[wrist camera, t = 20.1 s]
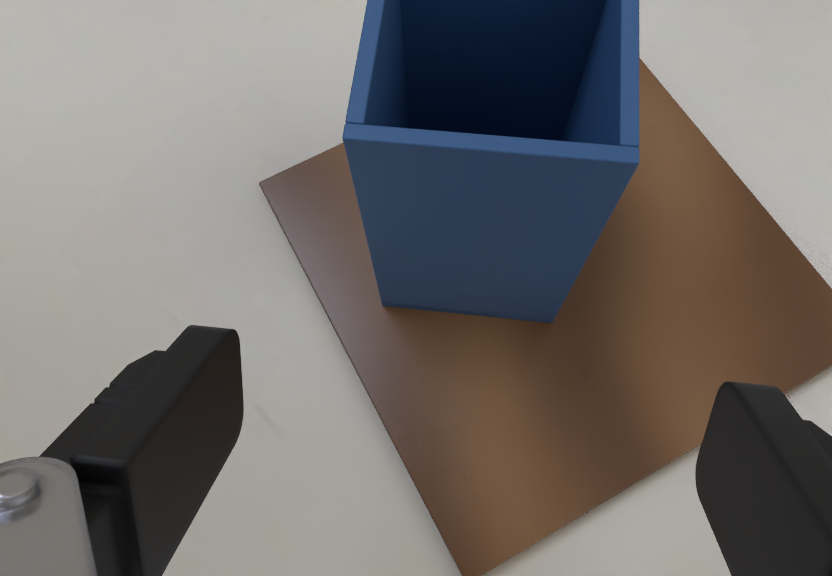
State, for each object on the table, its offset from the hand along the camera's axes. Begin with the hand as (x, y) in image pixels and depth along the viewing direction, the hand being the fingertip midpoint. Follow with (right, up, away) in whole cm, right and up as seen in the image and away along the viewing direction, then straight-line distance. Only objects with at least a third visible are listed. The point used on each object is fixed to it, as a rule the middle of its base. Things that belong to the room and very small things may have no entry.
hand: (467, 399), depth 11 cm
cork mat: (+4, +3, +13) cm, 14 cm away
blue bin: (+1, +4, +13) cm, 14 cm away
